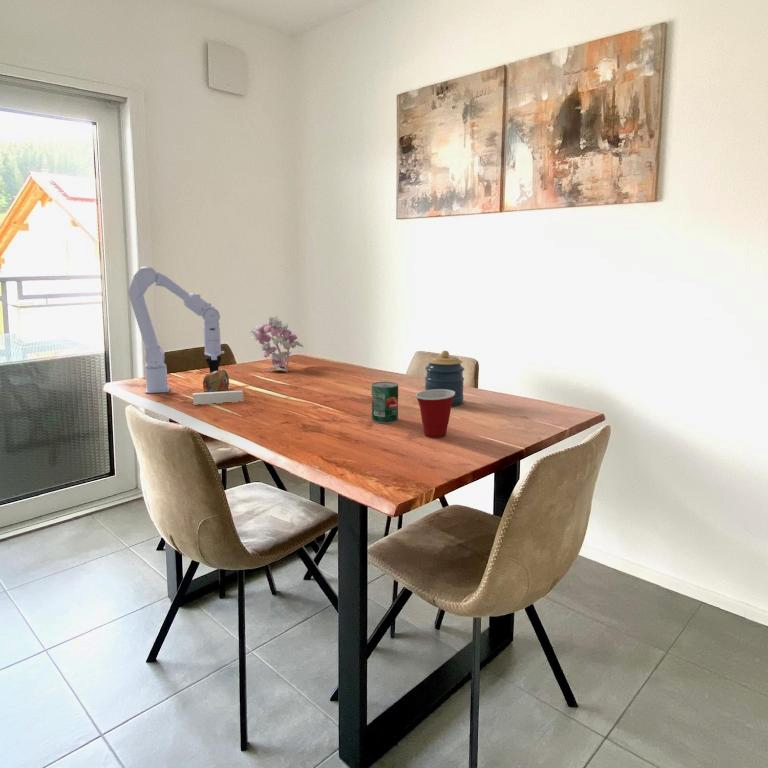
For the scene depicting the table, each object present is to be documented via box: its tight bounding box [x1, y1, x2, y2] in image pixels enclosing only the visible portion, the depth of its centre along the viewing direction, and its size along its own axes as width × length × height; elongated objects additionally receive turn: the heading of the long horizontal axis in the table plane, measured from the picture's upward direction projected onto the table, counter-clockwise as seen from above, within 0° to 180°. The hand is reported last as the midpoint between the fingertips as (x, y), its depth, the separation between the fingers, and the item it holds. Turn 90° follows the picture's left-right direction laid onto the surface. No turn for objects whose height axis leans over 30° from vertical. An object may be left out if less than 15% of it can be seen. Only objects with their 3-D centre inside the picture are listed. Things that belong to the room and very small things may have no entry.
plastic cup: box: [414, 389, 455, 439], centre depth 165 cm, size 11×11×12 cm
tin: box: [202, 369, 230, 393], centre depth 213 cm, size 15×3×8 cm, turn 168°
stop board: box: [192, 389, 244, 406], centre depth 202 cm, size 2×16×4 cm, turn 108°
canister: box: [424, 350, 465, 407], centre depth 203 cm, size 13×13×18 cm
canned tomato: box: [371, 381, 399, 424], centre depth 180 cm, size 8×8×11 cm
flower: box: [249, 315, 304, 373], centre depth 262 cm, size 20×22×25 cm
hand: (214, 376), depth 226 cm, fingers closed
